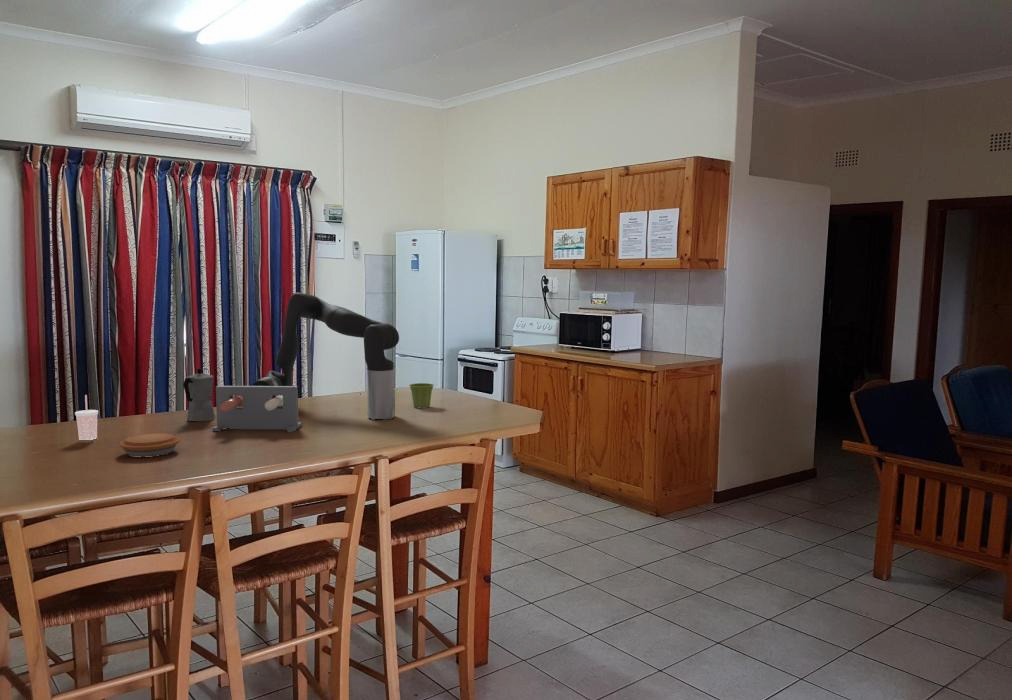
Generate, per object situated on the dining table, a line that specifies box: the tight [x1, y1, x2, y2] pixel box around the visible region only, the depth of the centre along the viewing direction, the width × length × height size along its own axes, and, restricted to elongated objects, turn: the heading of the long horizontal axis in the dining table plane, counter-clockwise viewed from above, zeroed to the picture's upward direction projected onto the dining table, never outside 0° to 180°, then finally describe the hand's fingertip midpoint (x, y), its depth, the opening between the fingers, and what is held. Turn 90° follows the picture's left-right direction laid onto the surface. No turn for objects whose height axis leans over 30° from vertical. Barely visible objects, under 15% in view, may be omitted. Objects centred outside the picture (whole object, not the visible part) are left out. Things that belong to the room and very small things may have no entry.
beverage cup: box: [74, 394, 99, 441], centre depth 223 cm, size 6×6×14 cm
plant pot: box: [408, 382, 435, 408], centre depth 284 cm, size 9×9×9 cm
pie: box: [119, 432, 181, 457], centre depth 208 cm, size 15×16×5 cm
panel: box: [211, 385, 303, 433], centre depth 242 cm, size 26×10×14 cm, turn 90°
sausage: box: [220, 395, 243, 412], centre depth 238 cm, size 5×15×5 cm, turn 0°
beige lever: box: [265, 396, 283, 411], centre depth 241 cm, size 5×15×5 cm, turn 0°
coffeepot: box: [182, 368, 216, 422], centre depth 255 cm, size 15×9×18 cm, turn 169°
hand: (248, 396), depth 252 cm, fingers closed
